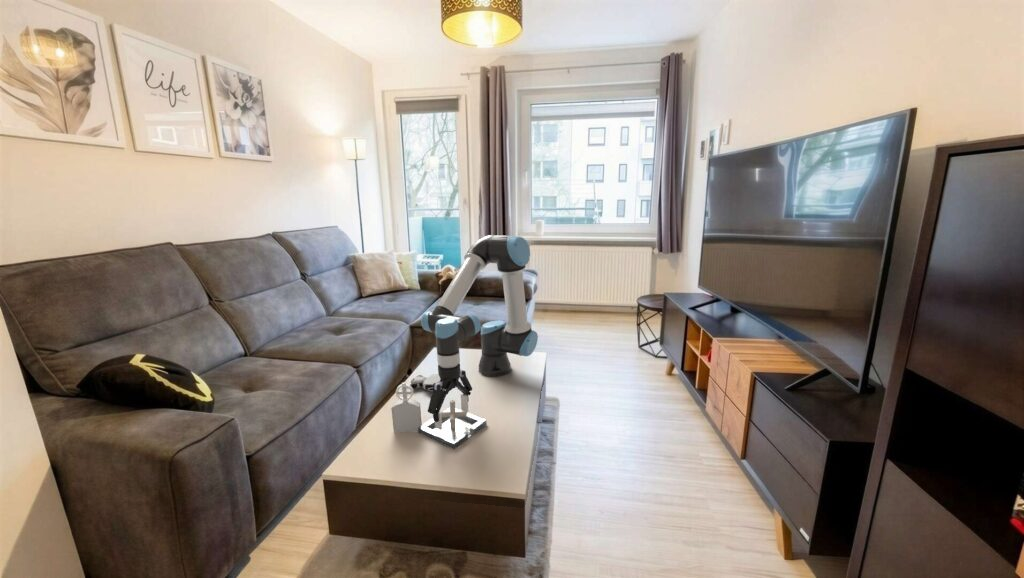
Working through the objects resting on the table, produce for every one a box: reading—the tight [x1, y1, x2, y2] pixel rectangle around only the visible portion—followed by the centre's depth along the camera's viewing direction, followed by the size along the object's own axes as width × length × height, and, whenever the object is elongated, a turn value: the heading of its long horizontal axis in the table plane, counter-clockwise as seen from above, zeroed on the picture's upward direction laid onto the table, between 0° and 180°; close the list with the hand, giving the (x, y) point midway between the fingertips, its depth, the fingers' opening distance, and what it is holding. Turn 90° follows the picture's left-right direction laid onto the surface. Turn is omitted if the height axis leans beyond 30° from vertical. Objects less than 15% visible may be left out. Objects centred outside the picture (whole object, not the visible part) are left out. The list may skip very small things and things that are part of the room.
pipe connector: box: [440, 399, 468, 429], centre depth 143 cm, size 10×10×10 cm
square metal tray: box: [417, 407, 487, 450], centre depth 144 cm, size 17×17×2 cm
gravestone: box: [391, 382, 423, 433], centre depth 142 cm, size 3×9×18 cm, turn 92°
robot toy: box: [406, 373, 440, 392], centre depth 175 cm, size 12×4×15 cm
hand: (452, 419), depth 143 cm, fingers open, 13 cm apart
